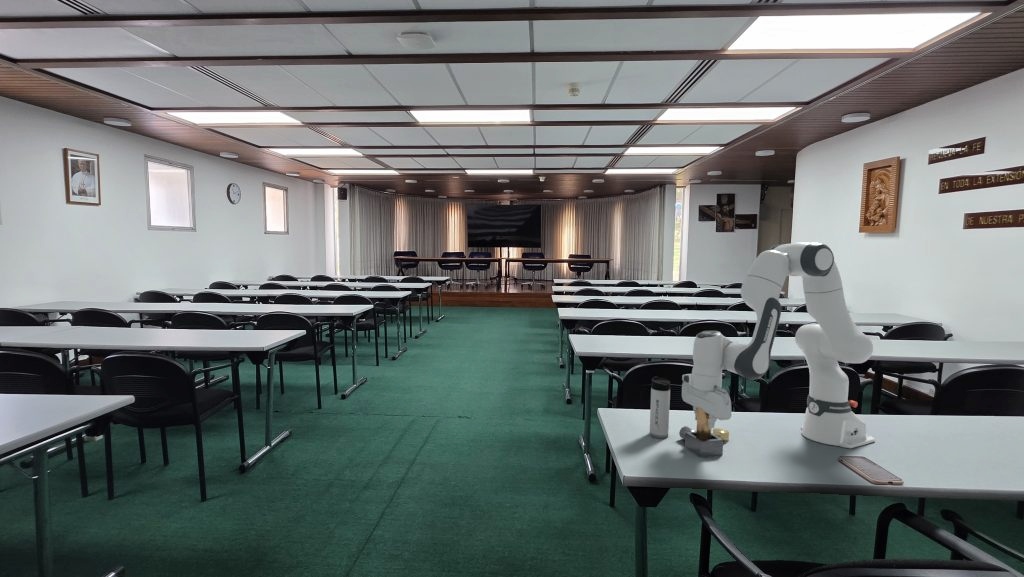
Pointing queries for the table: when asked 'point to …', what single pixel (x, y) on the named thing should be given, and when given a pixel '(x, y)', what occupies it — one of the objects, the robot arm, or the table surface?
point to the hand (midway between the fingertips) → (704, 424)
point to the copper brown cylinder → (703, 425)
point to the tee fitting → (701, 443)
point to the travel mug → (659, 407)
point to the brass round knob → (721, 434)
